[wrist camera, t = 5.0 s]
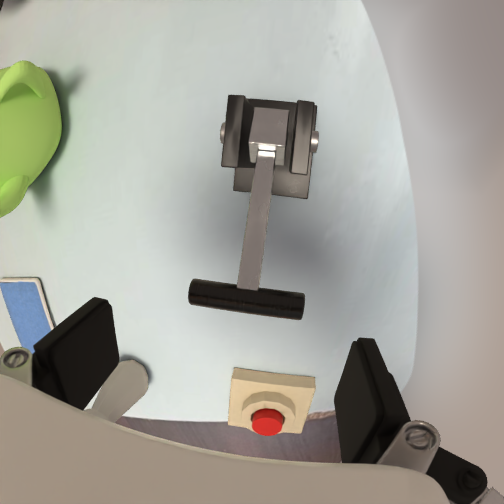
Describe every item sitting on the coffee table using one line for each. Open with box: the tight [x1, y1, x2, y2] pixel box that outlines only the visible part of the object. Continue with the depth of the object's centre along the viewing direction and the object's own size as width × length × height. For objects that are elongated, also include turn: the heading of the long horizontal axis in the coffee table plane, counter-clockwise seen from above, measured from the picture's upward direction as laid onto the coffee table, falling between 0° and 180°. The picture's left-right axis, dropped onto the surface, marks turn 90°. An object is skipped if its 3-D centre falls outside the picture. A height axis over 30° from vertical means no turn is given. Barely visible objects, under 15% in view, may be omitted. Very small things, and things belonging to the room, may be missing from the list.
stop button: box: [252, 408, 283, 436], centre depth 31 cm, size 4×4×2 cm
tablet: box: [0, 278, 54, 354], centre depth 38 cm, size 19×13×1 cm, turn 6°
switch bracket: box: [220, 95, 319, 199], centre depth 21 cm, size 9×7×12 cm
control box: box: [228, 368, 316, 434], centre depth 33 cm, size 10×9×4 cm
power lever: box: [188, 107, 305, 320], centre depth 17 cm, size 12×6×2 cm, turn 174°
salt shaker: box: [85, 359, 148, 423], centre depth 31 cm, size 6×6×13 cm
